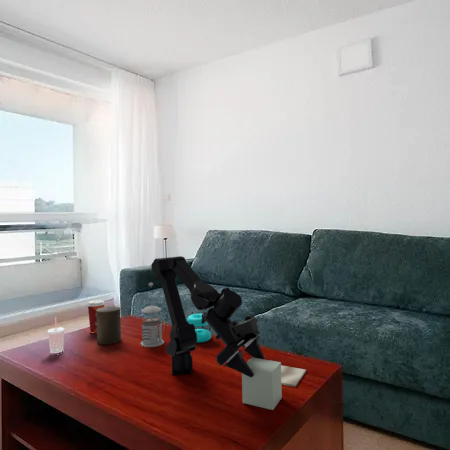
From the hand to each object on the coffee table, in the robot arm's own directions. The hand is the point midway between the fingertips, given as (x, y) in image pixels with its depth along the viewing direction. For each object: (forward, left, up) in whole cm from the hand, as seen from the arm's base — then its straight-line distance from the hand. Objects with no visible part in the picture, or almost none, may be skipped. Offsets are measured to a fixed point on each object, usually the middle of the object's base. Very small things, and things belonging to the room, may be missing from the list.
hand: (259, 369), depth 99 cm
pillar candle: (-51, +60, -9) cm, 79 cm away
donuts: (-13, +54, -9) cm, 56 cm away
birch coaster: (+11, +14, -8) cm, 19 cm away
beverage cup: (-69, +50, -9) cm, 86 cm away
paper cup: (-59, +74, -9) cm, 95 cm away
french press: (-32, +53, -9) cm, 62 cm away
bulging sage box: (+1, 0, -8) cm, 8 cm away
